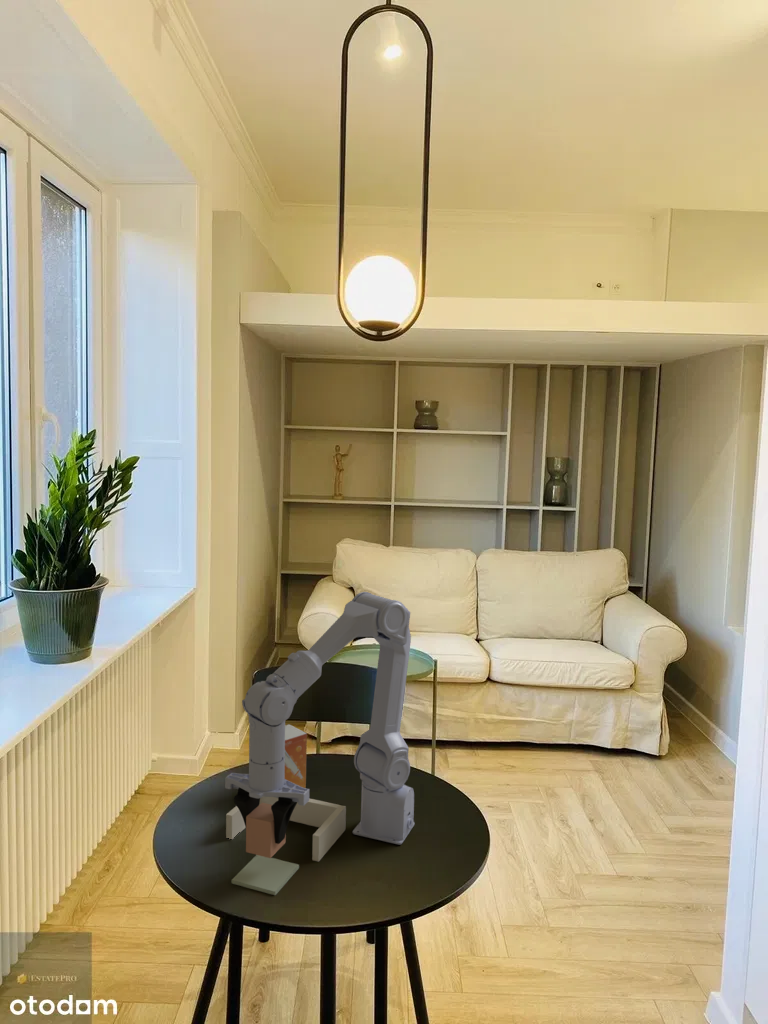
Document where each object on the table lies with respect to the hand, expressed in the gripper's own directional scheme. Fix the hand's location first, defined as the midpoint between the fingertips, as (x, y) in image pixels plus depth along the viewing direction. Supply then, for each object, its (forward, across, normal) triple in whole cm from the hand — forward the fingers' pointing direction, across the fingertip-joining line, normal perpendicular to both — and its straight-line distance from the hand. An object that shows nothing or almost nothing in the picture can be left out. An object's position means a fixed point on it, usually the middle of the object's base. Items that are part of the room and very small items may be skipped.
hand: (266, 837), depth 119 cm
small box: (+7, -11, +25) cm, 28 cm away
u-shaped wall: (+7, -3, +12) cm, 14 cm away
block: (+2, 0, 0) cm, 2 cm away
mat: (+7, 0, 0) cm, 7 cm away
